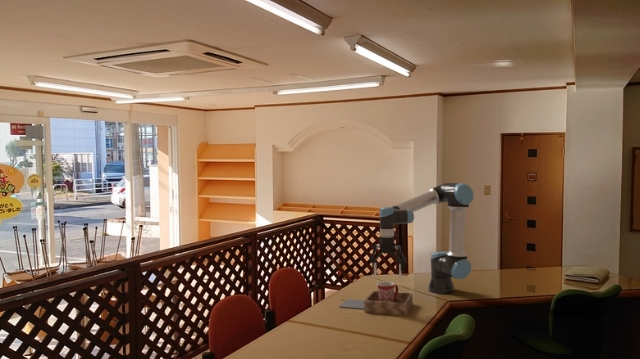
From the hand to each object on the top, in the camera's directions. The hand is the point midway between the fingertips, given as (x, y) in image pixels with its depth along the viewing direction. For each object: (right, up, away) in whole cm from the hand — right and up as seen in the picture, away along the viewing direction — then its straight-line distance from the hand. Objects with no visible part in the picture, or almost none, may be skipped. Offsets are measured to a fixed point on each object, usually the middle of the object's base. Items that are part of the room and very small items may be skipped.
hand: (387, 275), depth 255 cm
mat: (-17, -18, +8) cm, 26 cm away
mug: (+1, -18, +1) cm, 18 cm away
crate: (+1, -17, +1) cm, 18 cm away
